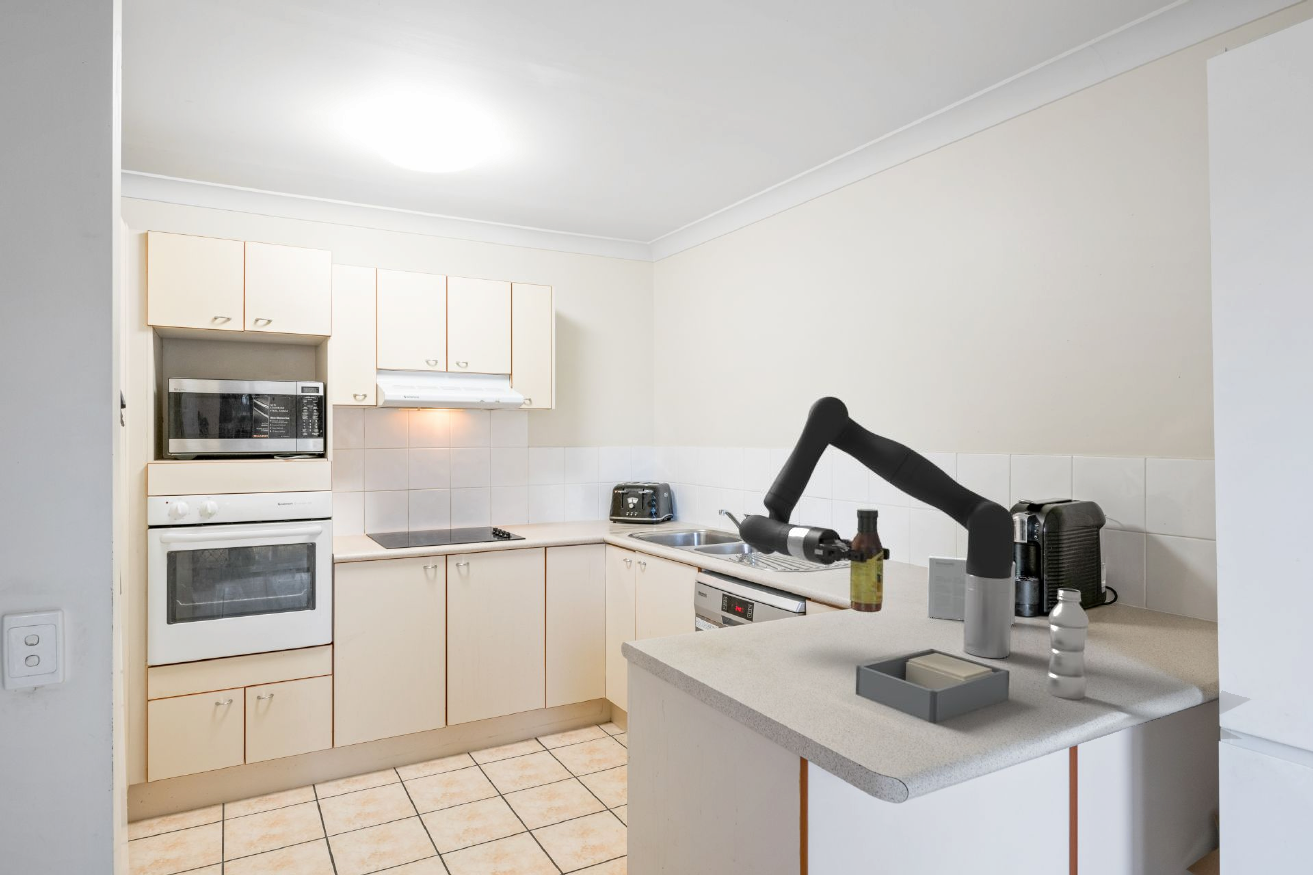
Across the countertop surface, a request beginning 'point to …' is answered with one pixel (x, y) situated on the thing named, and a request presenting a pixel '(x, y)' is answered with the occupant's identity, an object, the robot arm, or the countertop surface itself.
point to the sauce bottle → (867, 565)
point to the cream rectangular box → (941, 671)
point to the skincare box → (953, 588)
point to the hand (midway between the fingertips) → (877, 555)
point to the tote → (894, 691)
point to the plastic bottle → (1067, 646)
